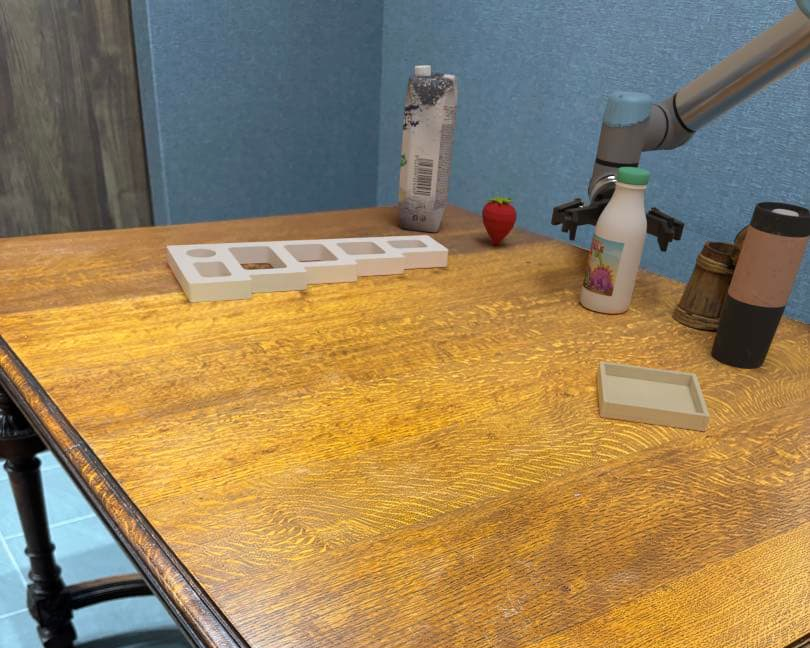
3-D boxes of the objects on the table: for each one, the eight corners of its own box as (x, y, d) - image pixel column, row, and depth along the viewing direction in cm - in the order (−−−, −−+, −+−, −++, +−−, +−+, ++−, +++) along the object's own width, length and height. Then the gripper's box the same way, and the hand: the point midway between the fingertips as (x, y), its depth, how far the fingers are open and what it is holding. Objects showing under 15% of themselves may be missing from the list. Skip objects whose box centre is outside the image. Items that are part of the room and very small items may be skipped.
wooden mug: (705, 344, 118) (745, 214, 107) (663, 310, 128) (695, 189, 118) (759, 343, 120) (804, 216, 109) (713, 310, 130) (749, 191, 120)
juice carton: (446, 221, 162) (461, 66, 146) (441, 235, 154) (457, 72, 138) (402, 216, 163) (413, 61, 147) (394, 230, 154) (405, 66, 138)
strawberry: (491, 251, 147) (499, 193, 142) (471, 239, 153) (478, 183, 147) (519, 250, 150) (528, 192, 144) (498, 238, 155) (506, 182, 149)
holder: (425, 250, 144) (427, 235, 143) (471, 284, 131) (473, 267, 130) (167, 263, 128) (166, 245, 127) (190, 302, 115) (189, 283, 114)
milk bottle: (614, 297, 132) (645, 164, 120) (637, 314, 126) (672, 176, 114) (571, 298, 130) (598, 162, 118) (592, 315, 124) (622, 175, 112)
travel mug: (698, 355, 114) (744, 205, 102) (724, 343, 118) (771, 198, 107) (749, 374, 110) (803, 220, 98) (774, 361, 114) (828, 212, 103)
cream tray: (691, 388, 104) (696, 373, 103) (705, 431, 94) (710, 416, 93) (596, 375, 105) (599, 360, 104) (599, 416, 95) (603, 401, 94)
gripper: (543, 171, 137) (540, 200, 119) (693, 189, 134) (712, 220, 117) (535, 218, 141) (531, 251, 124) (681, 235, 139) (697, 272, 122)
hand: (619, 236), depth 120 cm, fingers open, 13 cm apart
